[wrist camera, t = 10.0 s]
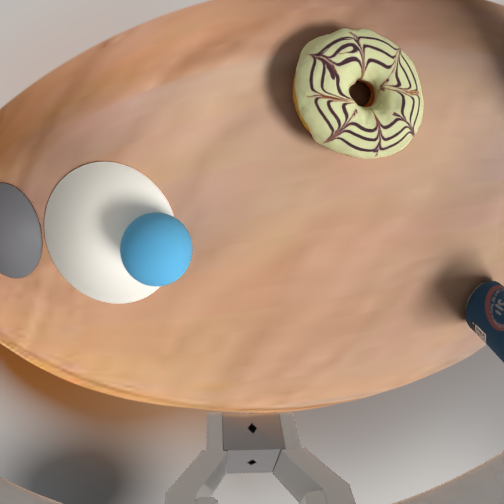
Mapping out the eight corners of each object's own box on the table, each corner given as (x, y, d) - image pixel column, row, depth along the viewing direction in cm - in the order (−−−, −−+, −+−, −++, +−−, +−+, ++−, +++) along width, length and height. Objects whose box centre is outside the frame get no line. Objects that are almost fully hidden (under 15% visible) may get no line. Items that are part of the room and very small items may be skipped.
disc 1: (3, 161, 20) (2, 161, 20) (59, 241, 24) (58, 242, 24) (-35, 224, 22) (-36, 225, 21) (14, 293, 25) (13, 294, 25)
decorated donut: (275, 41, 19) (284, 26, 16) (392, 38, 19) (415, 29, 16) (301, 163, 24) (314, 170, 20) (412, 148, 24) (436, 153, 20)
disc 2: (114, 128, 21) (113, 128, 21) (209, 252, 25) (209, 253, 25) (24, 224, 23) (23, 225, 22) (108, 323, 27) (108, 324, 27)
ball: (167, 201, 19) (146, 193, 23) (110, 266, 18) (101, 245, 22) (218, 253, 22) (189, 236, 26) (169, 312, 21) (148, 284, 25)
